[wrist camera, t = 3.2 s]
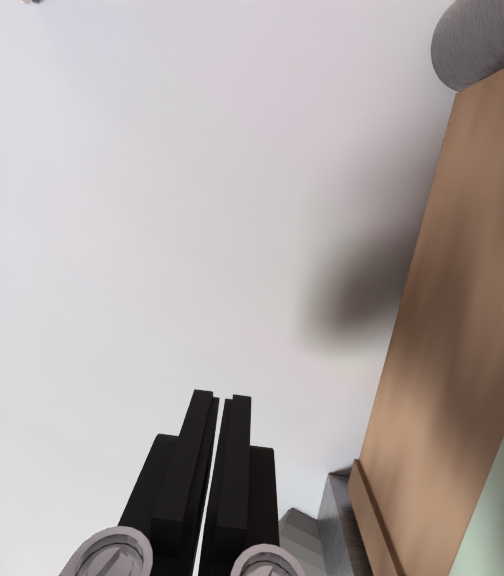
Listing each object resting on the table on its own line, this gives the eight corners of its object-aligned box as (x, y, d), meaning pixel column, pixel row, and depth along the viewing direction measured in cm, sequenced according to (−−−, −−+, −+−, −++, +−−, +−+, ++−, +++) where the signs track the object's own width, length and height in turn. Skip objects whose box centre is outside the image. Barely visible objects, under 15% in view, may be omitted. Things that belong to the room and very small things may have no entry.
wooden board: (449, 92, 11) (839, -125, 3) (510, 102, 11) (1019, -98, 4) (346, 488, 15) (428, 754, 8) (390, 493, 15) (512, 764, 8)
